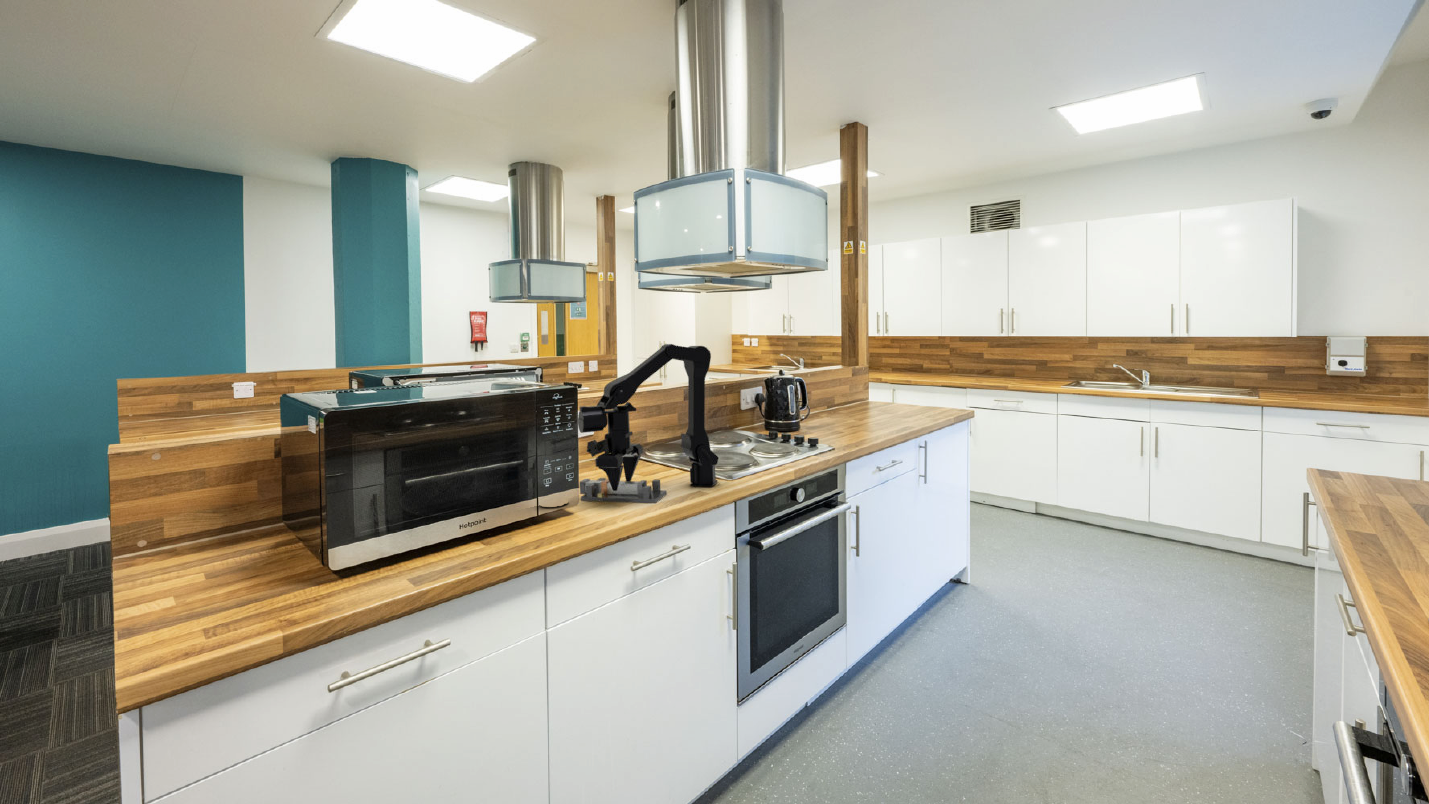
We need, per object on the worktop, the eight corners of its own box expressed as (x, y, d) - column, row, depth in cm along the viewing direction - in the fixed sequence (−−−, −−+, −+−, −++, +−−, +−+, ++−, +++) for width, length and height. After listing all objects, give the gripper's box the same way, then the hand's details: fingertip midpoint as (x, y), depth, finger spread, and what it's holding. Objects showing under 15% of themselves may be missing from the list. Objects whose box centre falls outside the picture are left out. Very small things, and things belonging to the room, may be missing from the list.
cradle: (666, 494, 163) (665, 479, 163) (655, 503, 154) (654, 488, 154) (595, 491, 168) (594, 477, 168) (581, 500, 159) (580, 485, 159)
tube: (647, 492, 161) (646, 480, 161) (642, 496, 158) (642, 483, 158) (585, 490, 166) (585, 478, 165) (580, 494, 162) (579, 481, 162)
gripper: (605, 423, 170) (608, 477, 172) (574, 434, 152) (578, 494, 154) (642, 423, 168) (644, 478, 169) (615, 434, 150) (618, 495, 151)
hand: (621, 486), depth 161 cm, fingers open, 9 cm apart
